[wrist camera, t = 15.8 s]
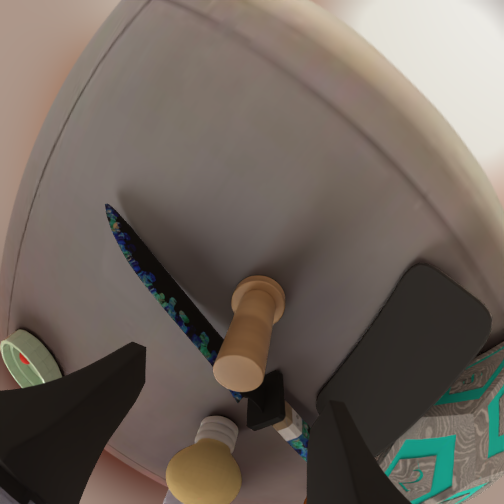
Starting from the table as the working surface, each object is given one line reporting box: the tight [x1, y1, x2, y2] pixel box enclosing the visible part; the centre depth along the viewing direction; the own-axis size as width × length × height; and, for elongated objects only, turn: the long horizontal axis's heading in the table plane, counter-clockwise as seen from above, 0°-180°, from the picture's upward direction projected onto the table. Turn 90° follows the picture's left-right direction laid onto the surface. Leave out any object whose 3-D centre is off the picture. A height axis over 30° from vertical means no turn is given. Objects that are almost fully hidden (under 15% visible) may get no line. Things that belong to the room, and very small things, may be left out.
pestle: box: [213, 275, 285, 392], centre depth 16 cm, size 4×4×8 cm
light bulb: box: [166, 416, 242, 504], centre depth 20 cm, size 6×6×10 cm
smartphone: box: [316, 263, 493, 457], centre depth 17 cm, size 8×1×15 cm
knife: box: [105, 204, 311, 462], centre depth 20 cm, size 31×3×4 cm, turn 36°
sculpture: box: [377, 341, 504, 504], centre depth 15 cm, size 13×14×30 cm
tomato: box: [19, 353, 30, 364], centre depth 26 cm, size 2×2×2 cm
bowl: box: [0, 329, 62, 388], centre depth 26 cm, size 10×10×4 cm
